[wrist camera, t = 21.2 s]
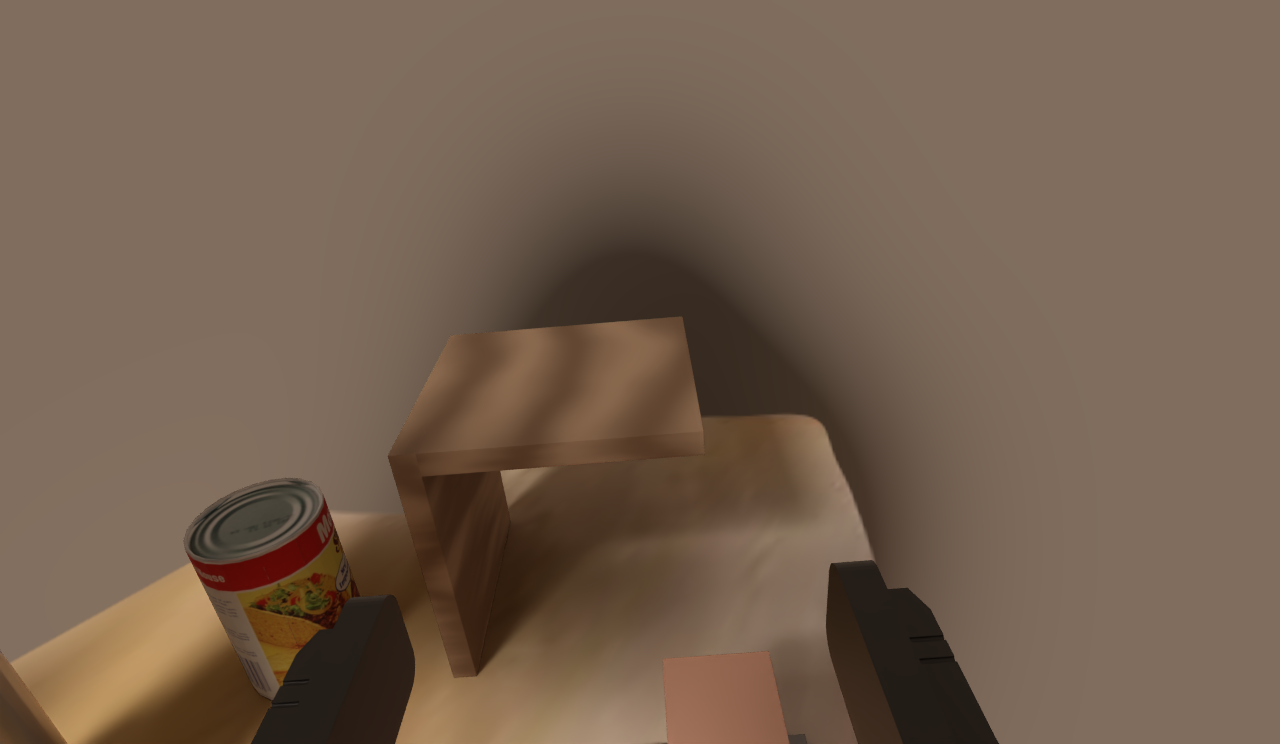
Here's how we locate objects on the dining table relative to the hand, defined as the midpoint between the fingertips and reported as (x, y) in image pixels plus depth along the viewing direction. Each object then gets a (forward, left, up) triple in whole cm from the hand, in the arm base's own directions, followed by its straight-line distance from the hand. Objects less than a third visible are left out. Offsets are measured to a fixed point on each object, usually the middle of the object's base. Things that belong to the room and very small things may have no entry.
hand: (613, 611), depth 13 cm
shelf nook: (-5, +30, -28) cm, 41 cm away
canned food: (-24, +25, -28) cm, 45 cm away
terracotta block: (+3, +11, -27) cm, 30 cm away
